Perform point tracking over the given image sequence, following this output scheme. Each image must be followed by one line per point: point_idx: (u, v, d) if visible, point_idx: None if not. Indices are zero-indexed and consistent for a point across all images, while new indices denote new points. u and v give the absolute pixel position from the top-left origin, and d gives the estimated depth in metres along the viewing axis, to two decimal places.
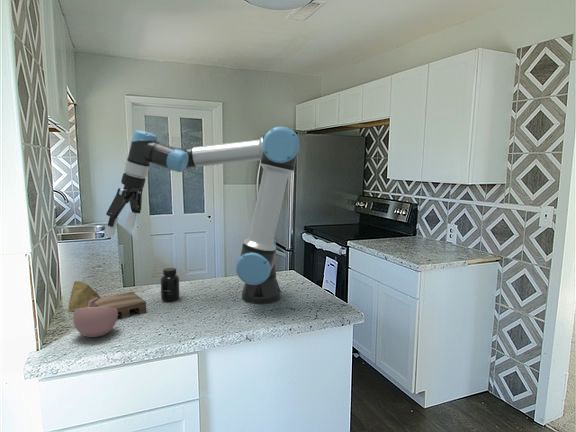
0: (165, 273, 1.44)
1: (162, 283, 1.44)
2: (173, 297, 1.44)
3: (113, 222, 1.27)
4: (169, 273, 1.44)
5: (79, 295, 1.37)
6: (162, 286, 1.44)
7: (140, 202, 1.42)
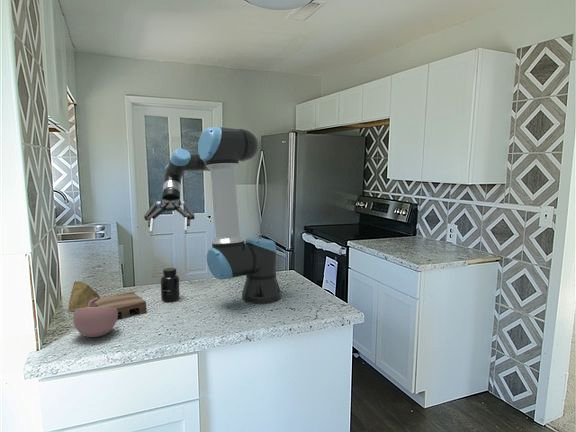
0: (165, 273, 1.44)
1: (162, 283, 1.44)
2: (173, 297, 1.44)
3: (149, 222, 1.57)
4: (169, 273, 1.44)
5: (79, 295, 1.37)
6: (162, 286, 1.44)
7: (188, 209, 1.62)
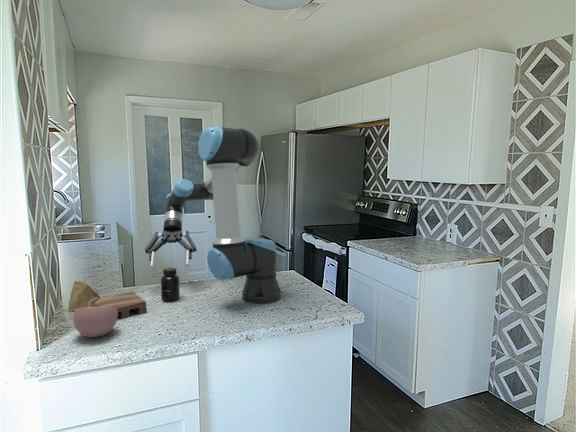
0: (165, 273, 1.44)
1: (162, 283, 1.44)
2: (173, 297, 1.44)
3: (150, 255, 1.53)
4: (169, 273, 1.44)
5: (79, 295, 1.37)
6: (162, 286, 1.44)
7: (190, 241, 1.59)
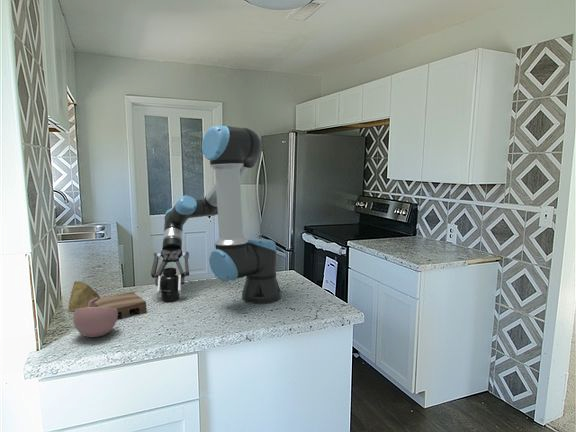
0: (165, 273, 1.44)
1: (162, 283, 1.44)
2: (173, 297, 1.44)
3: (156, 280, 1.45)
4: (169, 273, 1.44)
5: (79, 295, 1.37)
6: (162, 286, 1.44)
7: (185, 264, 1.50)
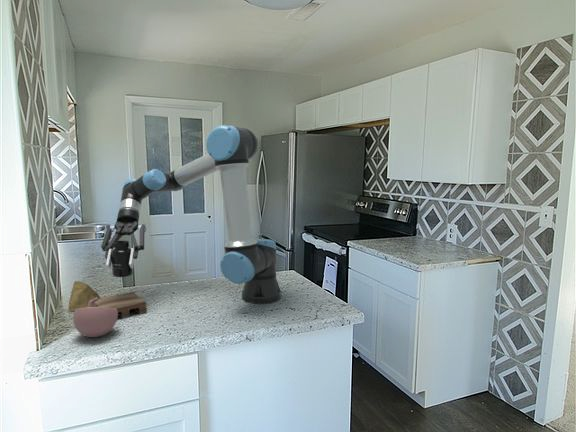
0: (115, 246, 1.32)
1: (112, 256, 1.32)
2: (124, 272, 1.32)
3: (107, 253, 1.33)
4: (120, 246, 1.32)
5: (79, 295, 1.37)
6: (112, 260, 1.32)
7: (140, 237, 1.38)
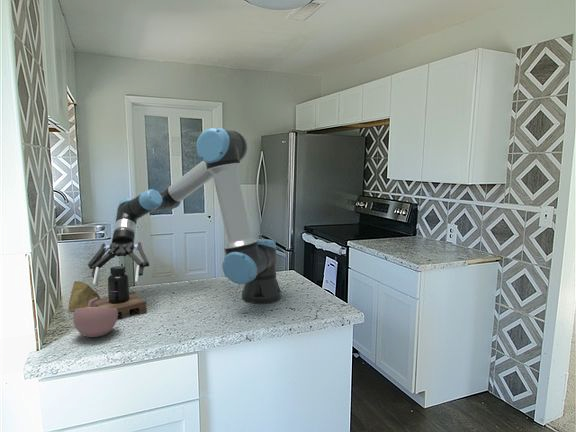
0: (112, 272, 1.31)
1: (109, 283, 1.31)
2: (120, 298, 1.31)
3: (94, 271, 1.32)
4: (116, 272, 1.31)
5: (79, 295, 1.37)
6: (109, 286, 1.31)
7: (142, 255, 1.38)
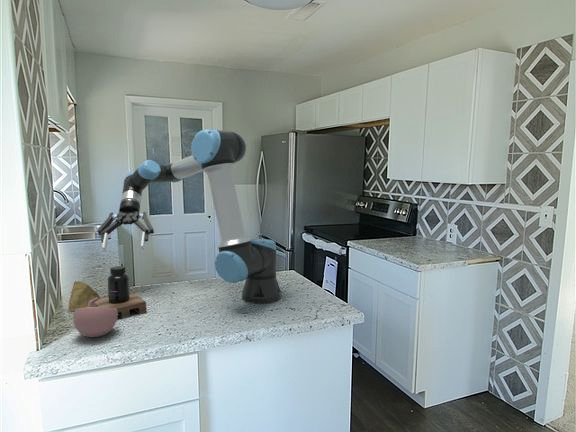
0: (112, 272, 1.31)
1: (109, 283, 1.31)
2: (120, 298, 1.31)
3: (103, 237, 1.43)
4: (116, 272, 1.31)
5: (79, 295, 1.37)
6: (109, 286, 1.31)
7: (147, 223, 1.49)
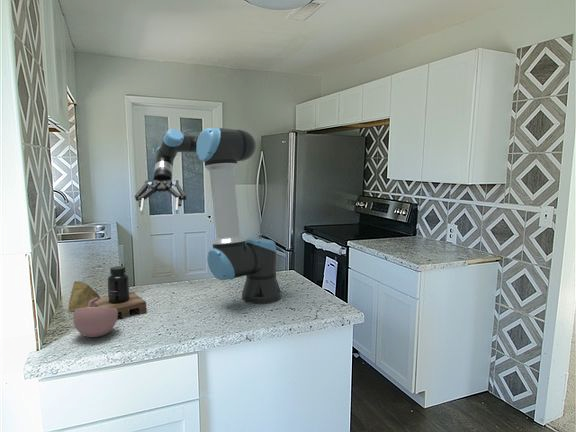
0: (112, 272, 1.31)
1: (108, 283, 1.31)
2: (120, 298, 1.31)
3: (140, 201, 1.54)
4: (116, 272, 1.31)
5: (79, 295, 1.37)
6: (109, 286, 1.31)
7: (180, 190, 1.60)
